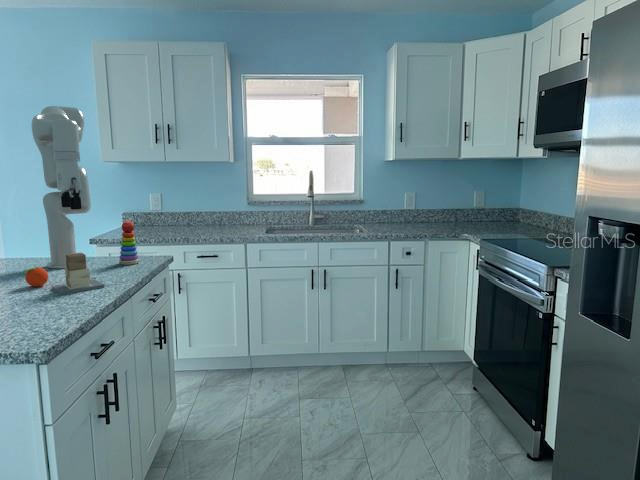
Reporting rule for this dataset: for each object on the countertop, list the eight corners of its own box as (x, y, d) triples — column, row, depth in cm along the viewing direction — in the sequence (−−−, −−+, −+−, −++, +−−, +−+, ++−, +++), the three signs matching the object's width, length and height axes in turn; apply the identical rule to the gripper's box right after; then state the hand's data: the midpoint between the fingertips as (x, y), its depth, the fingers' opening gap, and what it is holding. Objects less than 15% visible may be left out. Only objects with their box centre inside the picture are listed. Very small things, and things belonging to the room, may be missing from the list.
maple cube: (66, 284, 155) (64, 268, 154) (84, 282, 160) (83, 265, 159) (71, 288, 151) (70, 271, 150) (90, 285, 155) (88, 268, 154)
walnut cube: (66, 268, 154) (65, 254, 154) (82, 266, 158) (81, 252, 157) (70, 270, 151) (69, 256, 150) (86, 268, 154) (85, 254, 153)
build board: (52, 289, 154) (51, 286, 154) (94, 281, 164) (94, 279, 164) (60, 295, 147) (60, 291, 147) (104, 287, 157) (104, 284, 157)
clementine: (29, 290, 152) (27, 270, 151) (19, 287, 156) (17, 268, 154) (53, 285, 159) (51, 266, 158) (43, 282, 162) (41, 263, 161)
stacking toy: (131, 265, 191) (129, 222, 188) (115, 264, 192) (112, 222, 189) (142, 261, 198) (140, 220, 195) (126, 261, 200) (124, 220, 197)
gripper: (47, 157, 151) (52, 207, 154) (62, 156, 139) (67, 210, 142) (71, 157, 157) (75, 205, 159) (87, 157, 145) (92, 209, 147)
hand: (71, 208), depth 151 cm, fingers open, 9 cm apart
